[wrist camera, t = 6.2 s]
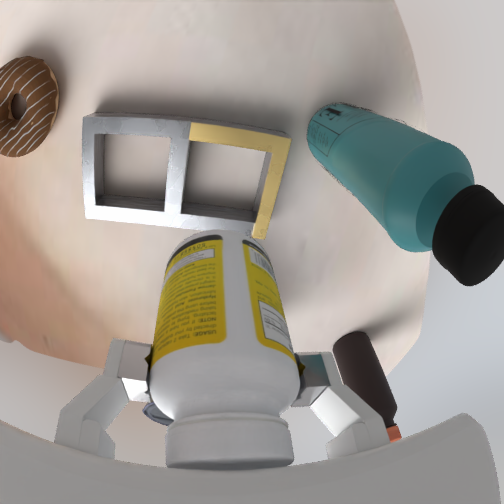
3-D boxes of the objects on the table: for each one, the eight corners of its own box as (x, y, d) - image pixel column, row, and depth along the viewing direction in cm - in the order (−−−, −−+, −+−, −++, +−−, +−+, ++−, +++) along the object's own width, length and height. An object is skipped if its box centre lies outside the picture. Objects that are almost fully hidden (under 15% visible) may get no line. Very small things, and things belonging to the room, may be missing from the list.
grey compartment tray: (94, 112, 20) (81, 117, 18) (284, 132, 24) (291, 139, 22) (94, 206, 26) (84, 219, 23) (260, 224, 29) (264, 239, 27)
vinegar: (337, 358, 48) (367, 454, 32) (327, 342, 44) (360, 452, 28) (370, 342, 46) (407, 437, 30) (363, 325, 42) (407, 432, 26)
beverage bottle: (325, 175, 27) (446, 333, 11) (284, 125, 23) (419, 258, 7) (372, 138, 25) (530, 254, 8) (337, 85, 21) (531, 149, 5)
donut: (-2, 67, 14) (-25, 71, 11) (70, 46, 16) (48, 45, 12) (-1, 154, 20) (-22, 167, 17) (65, 148, 22) (46, 160, 18)
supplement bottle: (161, 297, 15) (141, 473, 7) (177, 214, 12) (138, 442, 4) (251, 313, 17) (276, 477, 9) (287, 240, 14) (354, 440, 6)
